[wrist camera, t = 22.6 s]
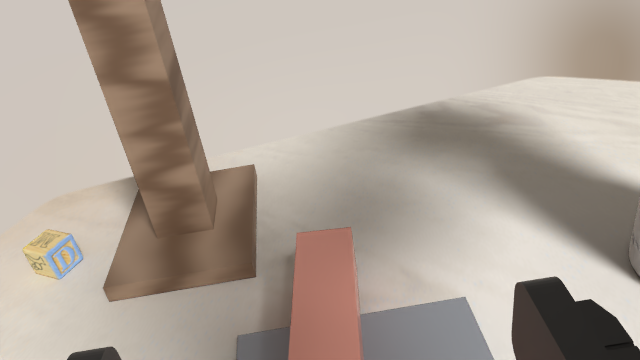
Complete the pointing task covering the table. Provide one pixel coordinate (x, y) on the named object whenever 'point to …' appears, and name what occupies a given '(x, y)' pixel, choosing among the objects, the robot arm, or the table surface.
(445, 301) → the rubber mat
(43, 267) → the alphabet block
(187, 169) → the brown pedestal stand
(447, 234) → the table surface
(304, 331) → the salmon pink bar
